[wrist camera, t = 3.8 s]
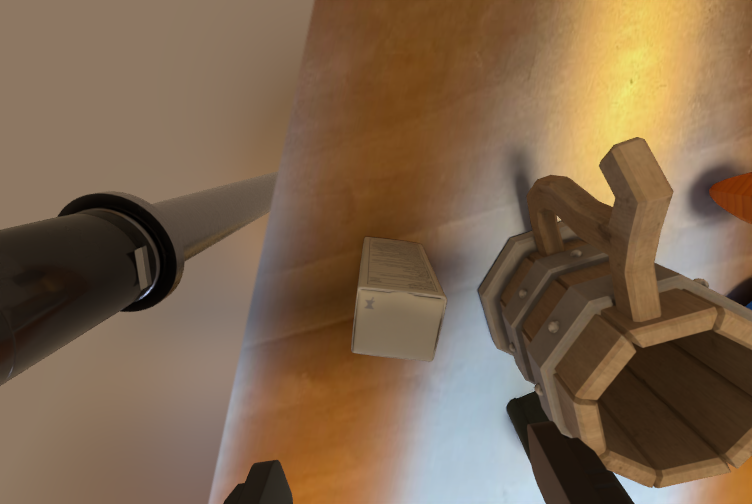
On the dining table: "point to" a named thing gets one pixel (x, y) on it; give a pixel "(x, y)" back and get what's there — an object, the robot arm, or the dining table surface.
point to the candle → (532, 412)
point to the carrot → (735, 196)
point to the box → (397, 302)
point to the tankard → (623, 329)
